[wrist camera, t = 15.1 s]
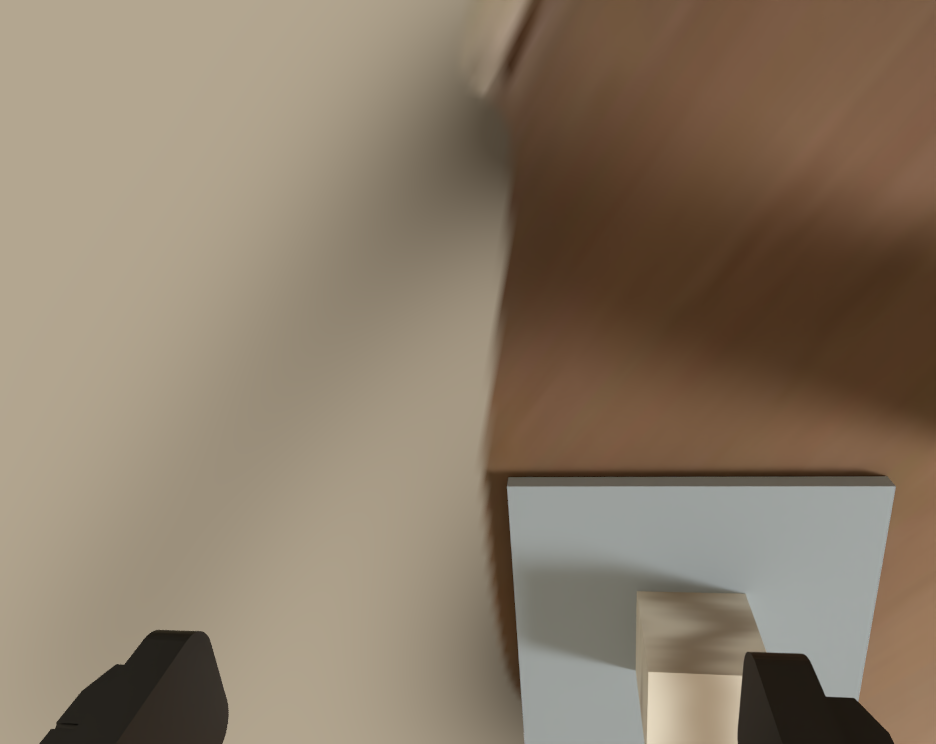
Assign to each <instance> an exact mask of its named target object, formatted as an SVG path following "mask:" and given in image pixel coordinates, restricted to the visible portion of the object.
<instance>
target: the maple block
mask: <svg viewBox="0 0 936 744" xmlns="http://www.w3.org/2000/svg"><path fill="white" fill-rule="evenodd" d="M747 652H766V649H765V646H764V644H763V641H762V638H761V635H760V633H759V630H758V627H757V624H756V622H755V619H754V616H753V613H752V611H751V608H750V605H749V602H748V600H747V597H746V594H738V593H694V592H650V591H637V605H636V678H637V686H638V694H639V702H640V710H641V719H642V727H643V735H644V743H645V744H738V740H737V732H738V719H739V708H740V697H741V685H742V674H743V663H744V657H745V654H746V653H747Z"/></svg>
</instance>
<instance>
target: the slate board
mask: <svg viewBox="0 0 936 744" xmlns="http://www.w3.org/2000/svg"><path fill="white" fill-rule="evenodd" d="M895 488H896V486H895V485H894V484H893V483H892V481H891V480H890V479H889V478H888V477H887V476H822V477H508V484H507V493H508V507H509V522H510V537H511V551H512V566H513V580H514V595H515V610H516V624H517V639H518V654H519V668H520V683H521V698H522V712H523V727H524V741H525V744H645V743H644V735H643V727H642V719H641V710H640V702H639V694H638V686H637V678H636V605H637V591H650V592H694V593H738V594H746V597H747V600H748V602H749V605H750V608H751V611H752V613H753V616H754V619H755V622H756V624H757V627H758V630H759V633H760V635H761V638H762V641H763V644H764V646H765V649H766V652H770V653H800V654H805V655H806V656H807V657H808V658H809V660H810V662H811V664H812V666H813V668H814V671H815V673H816V675H817V677H818V680H819V682H820V684H821V687H822V689H823V691H824V694H825V696H826V697H846V698H855V699H856V700H857V701H858V700H859V694H860V688H861V682H862V677H863V671H864V665H865V660H866V654H867V648H868V642H869V637H870V631H871V625H872V619H873V614H874V608H875V602H876V597H877V591H878V585H879V579H880V574H881V568H882V562H883V556H884V551H885V545H886V539H887V534H888V528H889V522H890V516H891V511H892V505H893V499H894V493H895Z"/></svg>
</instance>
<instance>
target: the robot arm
mask: <svg viewBox="0 0 936 744" xmlns="http://www.w3.org/2000/svg"><path fill="white" fill-rule="evenodd" d="M227 724H228V703H227V699H226V695H225V692H224V688H223V684H222V681H221V677H220V674H219V670H218V667H217V663H216V660H215V656H214V652H213V649H212V645H211V642H210V639H209V637H208V636H207V635H206V634H205V633H204V632H201V631H174V630H172V631H171V630H156V631H153V632H151V633H150V634H149V635H148V636H146V638H145V639H144V640H143V641H142V643H141V644H140V645H139V646H138V648H137V649H136V650H135V652H134V653H133V654H132V655H131V657H130V658H129V659H128V661H127V662H126V663H125V665H119V664H117V665H115V666H114V667H112V668H111V669H110V670H108V671H107V672H106V673H104V674H103V675H102V676H101V677H99V678H98V679H97V680H95V681H94V682H93V683H92V684H90V685H89V686H88V687H87V688H85V689H84V690H83V691H82V692H81V693H80V694H79V695H78V697H77V698H76V699H75V701H73V703H72V704H71V705H70V707H69V708H68V709H67V710H66V711H65V713H64V714H63V715H62V716H61V718H60V719H59V720H58V721H57V725H56V728H55V729H51V730H50V731H49V732H48V734H47V735H46V736H45V737H44V739H43V740H42V741H41V742H40V744H222V743H223V740H224V737H225V734H226V730H227ZM737 740H738V744H894V742H893V740H892V738H891V736H890V734H889V733H888V732H887V731H886V730H885V729H884V728H883V727H882V726H881V725H880V724H879V723H878V722H877V721H876V720H875V719H874V718H873V717H872V716H871V714H870V713H869V712H868V711H867V710H866V709H865V708H864V707H863V706H862V705H861V704H860V703H859V702H858V701H857V700H856V699H855V698H846V697H826V696H825V694H824V691H823V689H822V687H821V684H820V682H819V680H818V677H817V675H816V673H815V671H814V668H813V666H812V664H811V662H810V660H809V658H808V657H807V656H806V655H805V654H800V653H770V652H747V653H746V654H745V657H744V663H743V674H742V685H741V697H740V708H739V719H738V732H737Z"/></svg>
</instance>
